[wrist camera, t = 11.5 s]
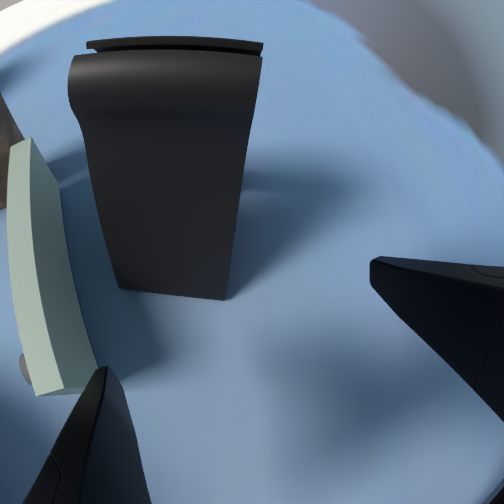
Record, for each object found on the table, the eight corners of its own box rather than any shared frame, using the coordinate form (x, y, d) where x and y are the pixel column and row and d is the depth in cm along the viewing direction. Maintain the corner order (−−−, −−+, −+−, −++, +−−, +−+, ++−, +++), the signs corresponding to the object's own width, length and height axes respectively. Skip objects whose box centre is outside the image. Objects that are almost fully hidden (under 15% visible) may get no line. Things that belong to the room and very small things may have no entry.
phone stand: (151, 162, 20) (128, 0, 9) (237, 170, 20) (267, 4, 9) (119, 289, 16) (8, 149, 5) (224, 302, 17) (255, 159, 6)
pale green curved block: (104, 386, 14) (64, 387, 9) (64, 398, 13) (15, 401, 8) (59, 184, 18) (31, 136, 13) (27, 198, 17) (-5, 155, 12)
